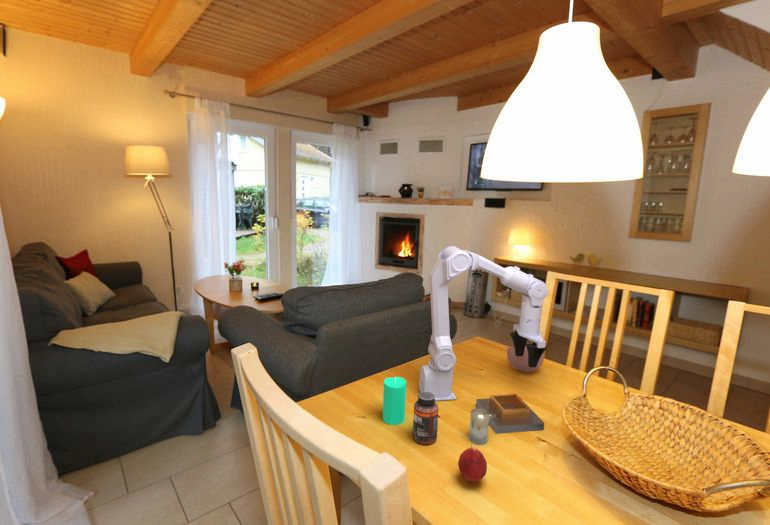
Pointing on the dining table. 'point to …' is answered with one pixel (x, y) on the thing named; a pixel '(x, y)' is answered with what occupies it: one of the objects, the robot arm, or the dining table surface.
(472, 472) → the onion
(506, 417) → the wooden socket on base
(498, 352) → the dining table surface
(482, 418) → the spout can
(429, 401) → the supplement bottle
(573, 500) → the dining table surface
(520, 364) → the mortar and pestle
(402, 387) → the candle
